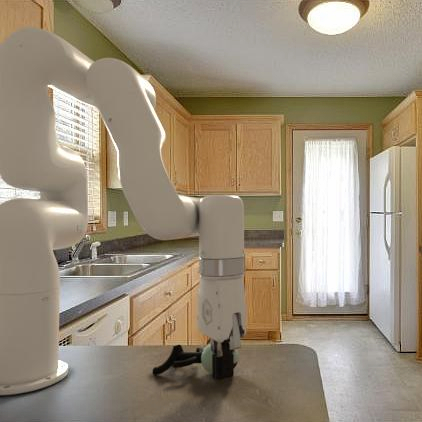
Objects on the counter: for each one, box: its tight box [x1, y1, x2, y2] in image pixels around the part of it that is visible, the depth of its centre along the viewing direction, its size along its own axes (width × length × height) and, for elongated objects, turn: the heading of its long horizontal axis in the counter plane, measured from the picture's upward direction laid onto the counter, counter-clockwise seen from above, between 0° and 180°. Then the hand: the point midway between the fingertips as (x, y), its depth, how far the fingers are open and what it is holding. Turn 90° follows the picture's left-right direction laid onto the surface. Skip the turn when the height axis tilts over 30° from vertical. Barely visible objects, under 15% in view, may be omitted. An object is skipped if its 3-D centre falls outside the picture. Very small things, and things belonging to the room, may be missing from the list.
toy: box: [152, 342, 240, 376], centre depth 71 cm, size 10×6×15 cm
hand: (223, 377), depth 64 cm, fingers closed
